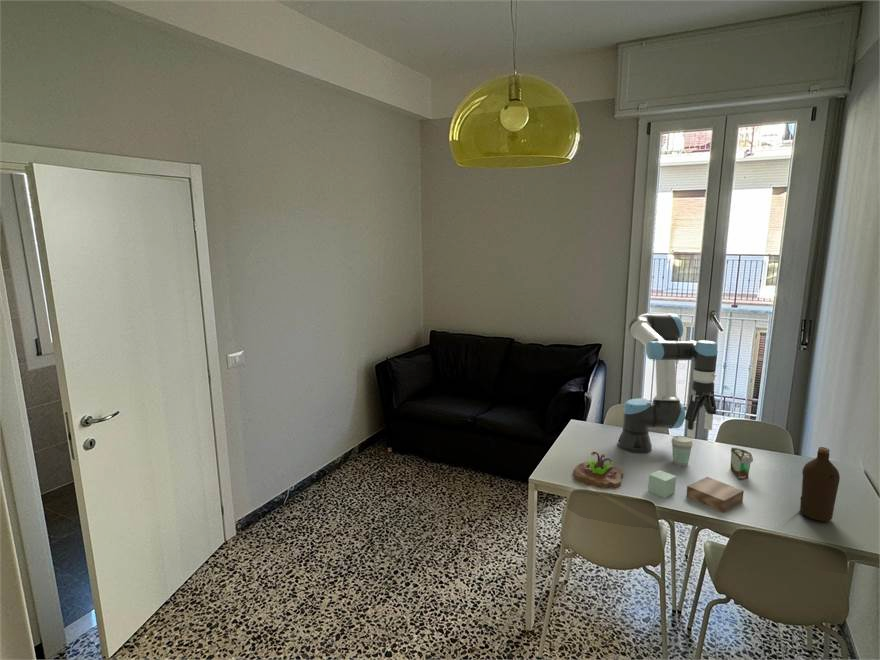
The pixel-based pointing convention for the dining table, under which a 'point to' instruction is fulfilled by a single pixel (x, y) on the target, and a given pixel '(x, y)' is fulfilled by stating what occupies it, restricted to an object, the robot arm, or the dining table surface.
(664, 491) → the sage cube
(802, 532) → the dining table surface
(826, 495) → the brown bottle
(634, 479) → the dining table surface
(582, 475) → the plant
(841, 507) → the dining table surface
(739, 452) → the food container
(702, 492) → the walnut block
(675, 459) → the coffee cup
